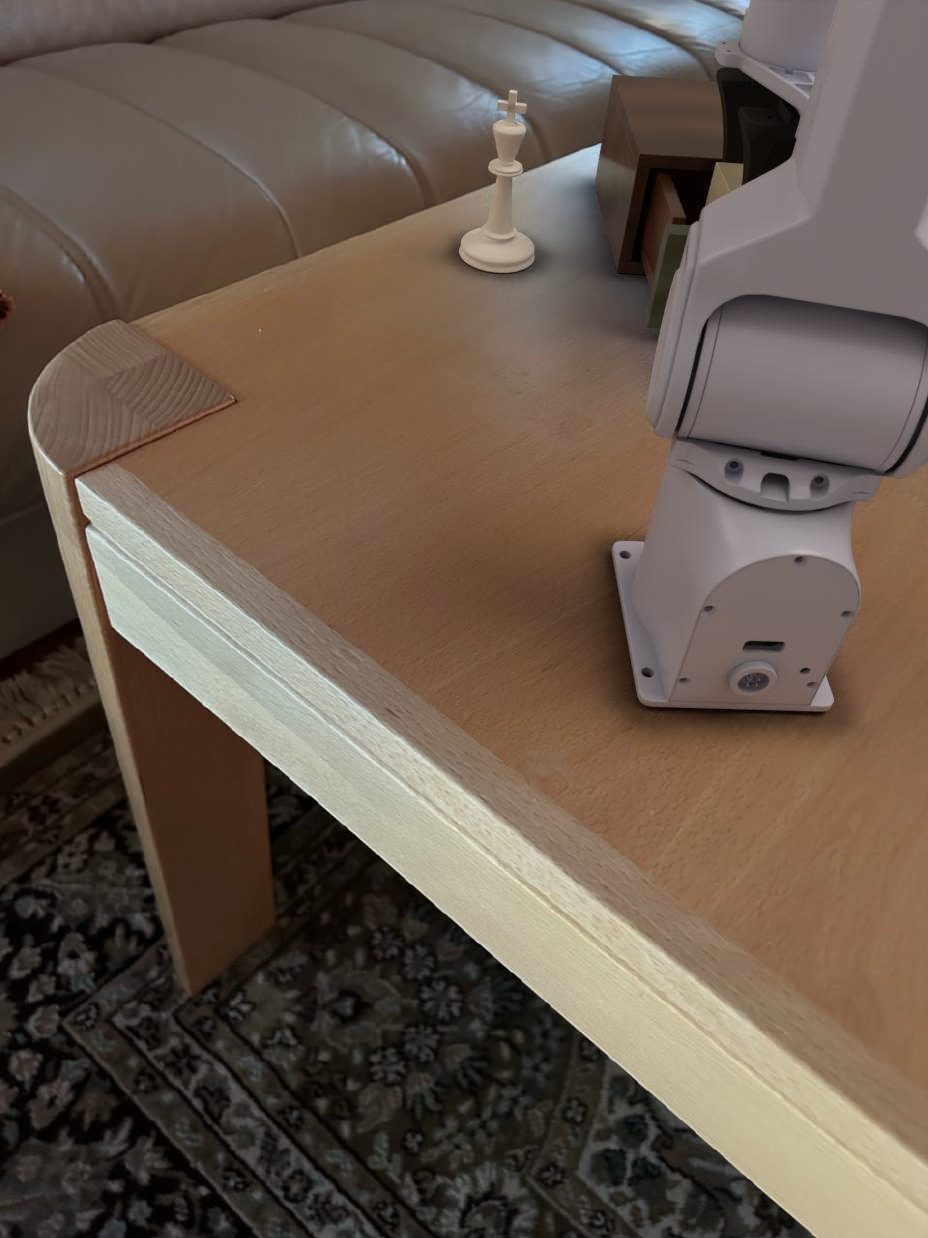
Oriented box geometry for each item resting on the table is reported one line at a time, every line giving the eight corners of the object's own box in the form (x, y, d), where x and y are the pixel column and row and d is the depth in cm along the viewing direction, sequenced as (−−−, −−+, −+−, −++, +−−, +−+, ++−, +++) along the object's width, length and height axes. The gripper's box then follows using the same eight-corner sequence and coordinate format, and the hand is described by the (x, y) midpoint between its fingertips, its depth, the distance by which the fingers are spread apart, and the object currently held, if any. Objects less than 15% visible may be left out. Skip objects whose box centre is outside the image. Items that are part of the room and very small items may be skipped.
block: (778, 263, 60) (800, 195, 57) (711, 259, 59) (729, 191, 57) (763, 231, 62) (783, 165, 60) (699, 227, 62) (715, 161, 59)
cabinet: (806, 284, 67) (846, 166, 61) (616, 273, 66) (639, 153, 60) (762, 195, 76) (793, 86, 70) (594, 185, 75) (612, 73, 69)
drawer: (859, 383, 57) (899, 288, 53) (659, 373, 56) (683, 275, 52) (788, 242, 69) (815, 155, 64) (620, 232, 68) (637, 143, 64)
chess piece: (528, 278, 64) (549, 112, 57) (451, 265, 65) (463, 99, 58) (539, 243, 68) (560, 83, 61) (467, 231, 68) (479, 70, 61)
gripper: (713, -89, 55) (660, 165, 65) (776, -8, 45) (702, 279, 55) (841, -79, 55) (769, 172, 65) (931, 4, 45) (830, 286, 55)
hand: (746, 222), depth 60 cm, fingers closed on block, 4 cm apart
